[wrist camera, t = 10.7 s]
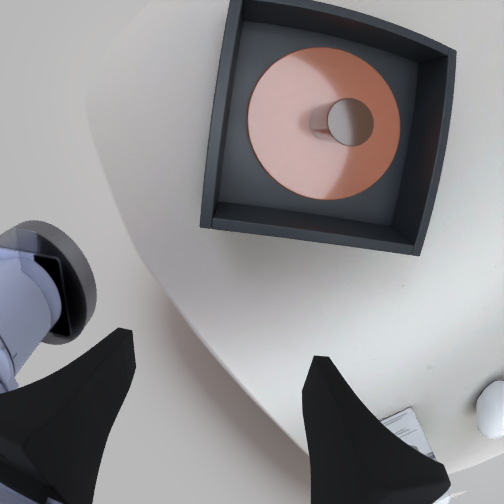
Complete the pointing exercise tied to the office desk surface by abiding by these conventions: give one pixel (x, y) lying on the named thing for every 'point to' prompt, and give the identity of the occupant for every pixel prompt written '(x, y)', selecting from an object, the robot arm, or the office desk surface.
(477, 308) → the office desk surface
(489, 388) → the plain white apple
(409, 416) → the ink box
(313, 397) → the robot arm
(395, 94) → the charcoal square tray
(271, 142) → the knobbed copper disc
